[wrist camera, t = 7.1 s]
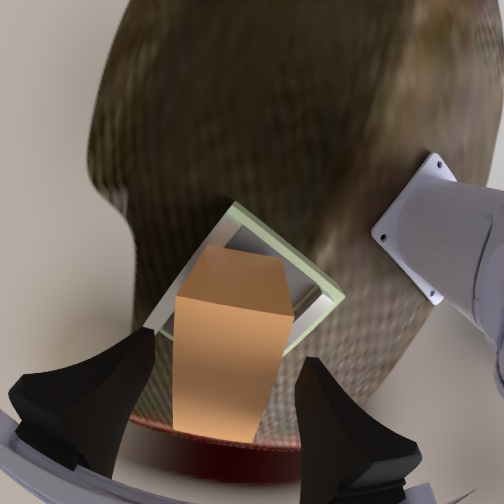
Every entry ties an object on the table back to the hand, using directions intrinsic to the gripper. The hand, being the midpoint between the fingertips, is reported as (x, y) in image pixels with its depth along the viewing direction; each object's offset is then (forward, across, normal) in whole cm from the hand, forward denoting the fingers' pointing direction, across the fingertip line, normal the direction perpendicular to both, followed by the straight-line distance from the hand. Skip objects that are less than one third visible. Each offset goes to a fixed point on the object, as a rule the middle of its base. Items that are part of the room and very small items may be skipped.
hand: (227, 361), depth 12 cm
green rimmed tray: (+7, 0, 0) cm, 7 cm away
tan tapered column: (+4, 0, 0) cm, 4 cm away
